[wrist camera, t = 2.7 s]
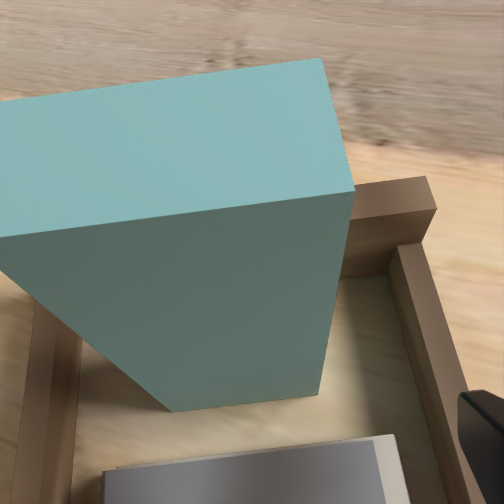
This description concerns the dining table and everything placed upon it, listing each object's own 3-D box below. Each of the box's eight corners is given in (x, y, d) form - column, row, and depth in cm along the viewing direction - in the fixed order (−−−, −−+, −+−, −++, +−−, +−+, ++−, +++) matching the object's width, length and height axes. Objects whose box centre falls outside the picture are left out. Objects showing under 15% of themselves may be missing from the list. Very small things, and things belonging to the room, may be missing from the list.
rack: (31, 633, 16) (-65, 676, 12) (66, 284, 23) (11, 229, 18) (500, 580, 16) (576, 604, 12) (400, 241, 22) (425, 175, 18)
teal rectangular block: (172, 412, 20) (-35, 241, 7) (170, 342, 21) (-4, 101, 9) (317, 394, 19) (354, 190, 7) (306, 325, 21) (321, 57, 9)
